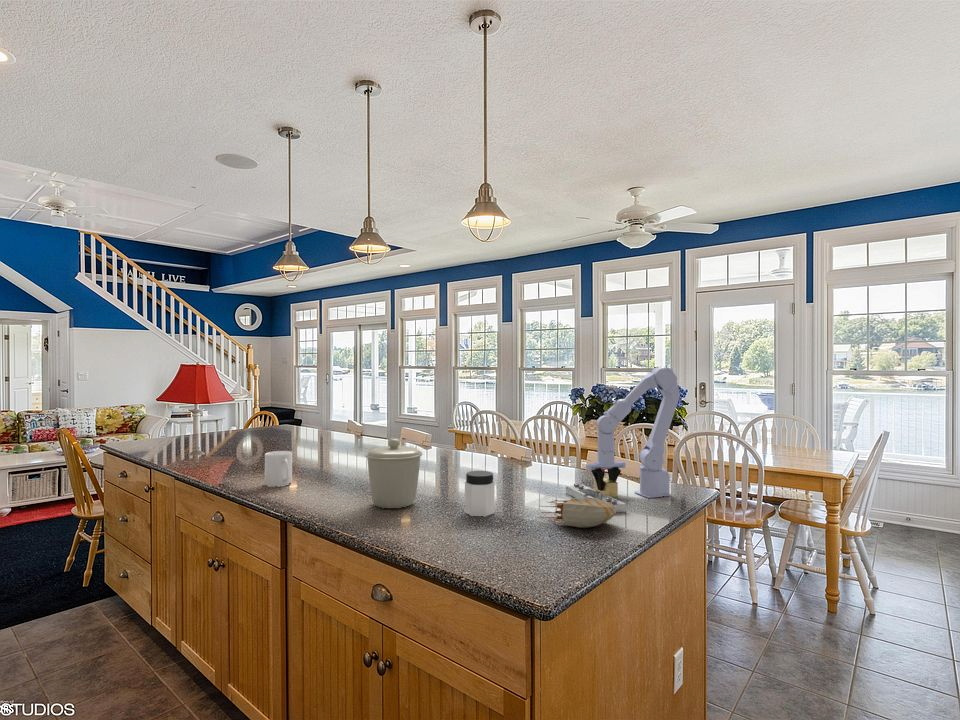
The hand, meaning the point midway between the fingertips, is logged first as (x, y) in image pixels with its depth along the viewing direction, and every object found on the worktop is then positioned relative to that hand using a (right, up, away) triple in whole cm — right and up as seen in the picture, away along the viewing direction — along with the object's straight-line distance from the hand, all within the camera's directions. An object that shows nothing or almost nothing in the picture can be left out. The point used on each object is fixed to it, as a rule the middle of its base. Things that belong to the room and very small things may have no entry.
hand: (605, 489), depth 182 cm
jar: (-44, -2, -23) cm, 50 cm away
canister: (-71, -1, -15) cm, 73 cm away
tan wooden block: (0, -2, 0) cm, 2 cm away
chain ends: (-6, -1, -11) cm, 12 cm away
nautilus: (-16, -2, -34) cm, 38 cm away
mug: (-117, -1, +12) cm, 118 cm away
